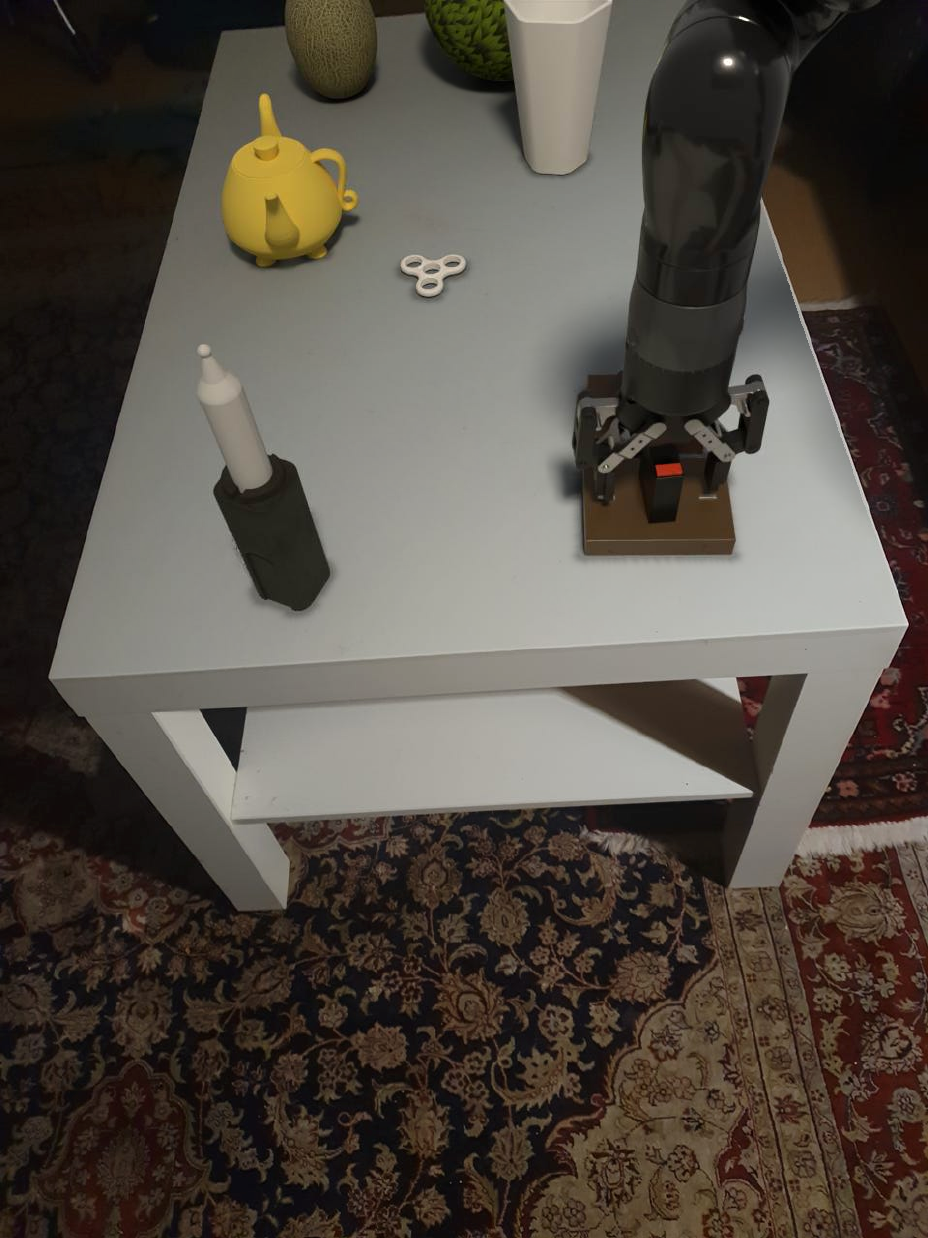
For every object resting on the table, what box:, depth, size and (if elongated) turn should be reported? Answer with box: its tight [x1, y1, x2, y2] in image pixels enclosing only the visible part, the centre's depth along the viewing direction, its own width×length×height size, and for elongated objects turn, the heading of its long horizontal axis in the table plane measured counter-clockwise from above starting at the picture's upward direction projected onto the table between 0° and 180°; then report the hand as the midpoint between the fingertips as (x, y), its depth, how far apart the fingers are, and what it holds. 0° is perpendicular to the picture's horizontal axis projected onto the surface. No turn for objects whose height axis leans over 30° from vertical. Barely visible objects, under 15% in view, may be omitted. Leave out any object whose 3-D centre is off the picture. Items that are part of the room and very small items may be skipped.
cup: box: [504, 0, 614, 176], centre depth 101 cm, size 11×10×17 cm
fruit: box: [284, 0, 378, 99], centre depth 114 cm, size 11×11×15 cm
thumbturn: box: [639, 443, 684, 524], centre depth 74 cm, size 6×2×6 cm, turn 3°
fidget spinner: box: [400, 253, 467, 298], centre depth 97 cm, size 7×6×1 cm
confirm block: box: [586, 369, 705, 455], centre depth 83 cm, size 10×8×4 cm
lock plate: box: [581, 456, 737, 556], centre depth 77 cm, size 12×9×2 cm
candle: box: [196, 343, 331, 612], centre depth 67 cm, size 5×5×25 cm
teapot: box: [221, 93, 359, 268], centre depth 98 cm, size 20×15×12 cm
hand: (658, 488), depth 76 cm, fingers open, 8 cm apart
